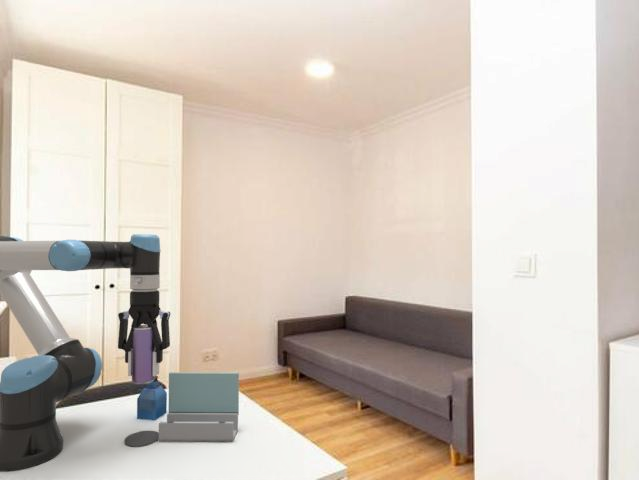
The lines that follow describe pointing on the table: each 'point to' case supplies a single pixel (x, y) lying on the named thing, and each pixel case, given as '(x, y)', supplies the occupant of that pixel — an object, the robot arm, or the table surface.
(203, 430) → the grey rectangular tray
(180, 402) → the cover
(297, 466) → the table surface
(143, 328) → the beverage can
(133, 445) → the coaster
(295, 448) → the table surface
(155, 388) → the perfume bottle
